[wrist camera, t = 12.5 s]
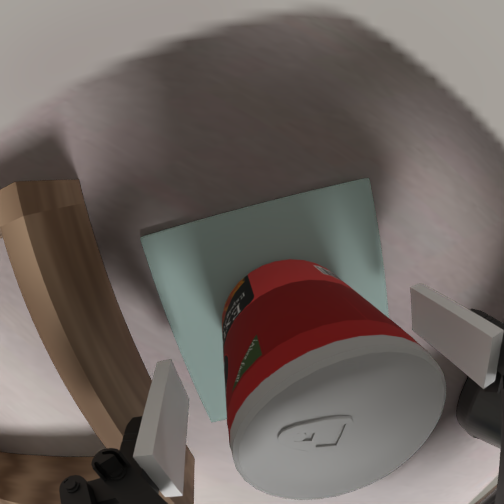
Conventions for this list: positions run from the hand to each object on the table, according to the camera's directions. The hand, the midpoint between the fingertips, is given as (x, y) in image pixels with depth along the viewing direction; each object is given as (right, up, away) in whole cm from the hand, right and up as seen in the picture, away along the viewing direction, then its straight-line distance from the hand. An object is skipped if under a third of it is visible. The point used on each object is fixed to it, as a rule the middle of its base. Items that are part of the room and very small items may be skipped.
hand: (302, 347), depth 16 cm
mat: (-1, +1, +5) cm, 5 cm away
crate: (-23, -5, +3) cm, 23 cm away
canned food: (0, +1, +4) cm, 4 cm away
